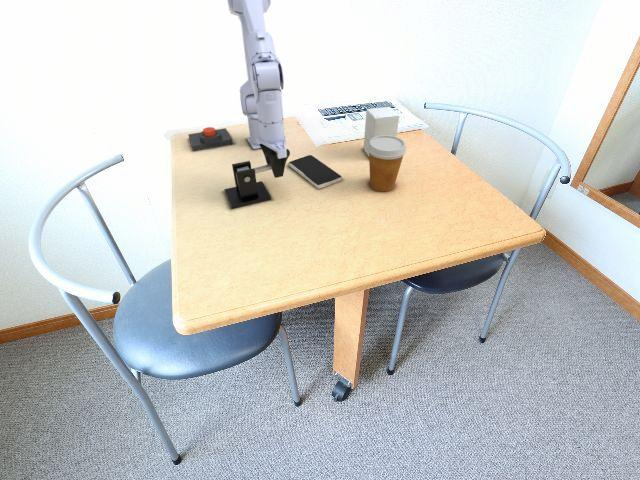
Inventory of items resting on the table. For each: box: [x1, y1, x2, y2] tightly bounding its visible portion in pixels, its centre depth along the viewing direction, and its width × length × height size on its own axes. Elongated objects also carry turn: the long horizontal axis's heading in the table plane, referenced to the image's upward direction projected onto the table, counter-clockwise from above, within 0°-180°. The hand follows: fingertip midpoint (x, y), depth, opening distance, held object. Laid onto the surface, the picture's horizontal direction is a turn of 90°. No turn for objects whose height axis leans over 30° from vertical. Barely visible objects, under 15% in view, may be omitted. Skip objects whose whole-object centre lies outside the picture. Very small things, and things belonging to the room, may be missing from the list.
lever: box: [237, 164, 272, 175], centre depth 90 cm, size 10×4×2 cm, turn 113°
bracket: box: [223, 160, 272, 210], centre depth 91 cm, size 10×8×8 cm
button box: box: [187, 127, 233, 152], centre depth 115 cm, size 12×10×4 cm
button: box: [202, 126, 216, 137], centre depth 113 cm, size 4×4×2 cm
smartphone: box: [288, 154, 342, 189], centre depth 102 cm, size 8×1×15 cm
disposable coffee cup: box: [367, 135, 407, 192], centre depth 93 cm, size 10×10×12 cm
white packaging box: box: [363, 106, 400, 157], centre depth 106 cm, size 7×7×13 cm
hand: (275, 171), depth 92 cm, fingers closed on lever, 4 cm apart
